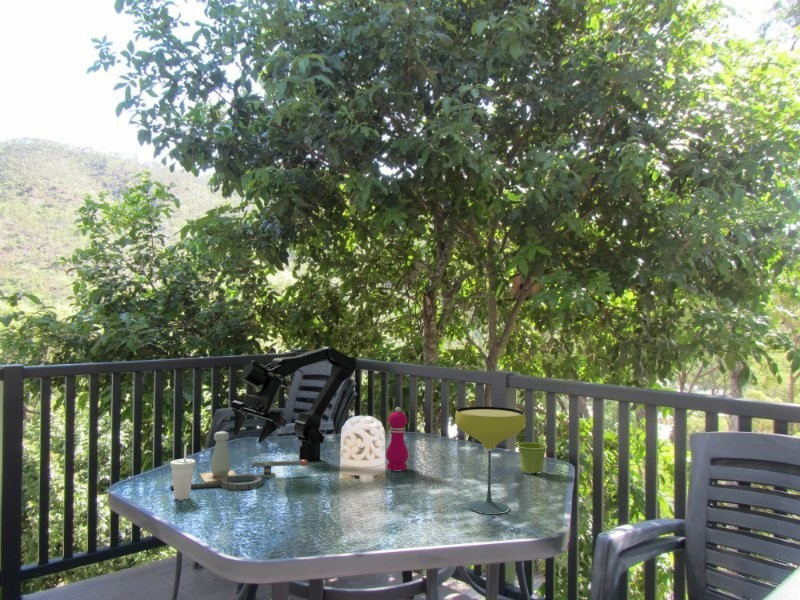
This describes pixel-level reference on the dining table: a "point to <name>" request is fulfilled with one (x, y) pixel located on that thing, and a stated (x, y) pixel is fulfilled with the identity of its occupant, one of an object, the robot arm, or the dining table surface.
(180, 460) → the smoothie
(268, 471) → the clip post
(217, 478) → the coaster
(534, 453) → the plant pot
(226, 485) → the grey ring with rod
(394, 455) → the pepper mill
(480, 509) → the cocktail glass
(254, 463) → the clip
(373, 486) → the dining table surface
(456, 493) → the dining table surface
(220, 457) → the salt shaker
